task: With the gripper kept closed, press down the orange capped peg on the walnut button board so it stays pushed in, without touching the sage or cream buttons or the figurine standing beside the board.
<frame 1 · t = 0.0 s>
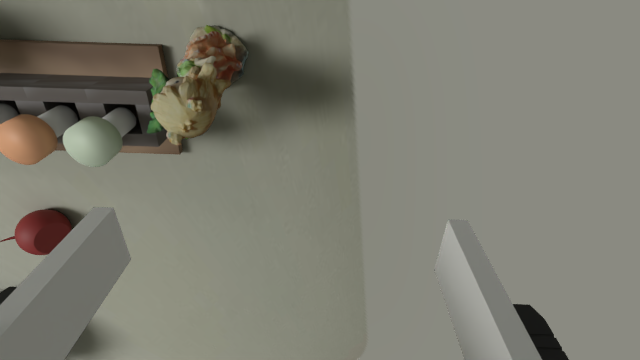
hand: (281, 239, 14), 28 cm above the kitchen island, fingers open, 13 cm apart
figurine: (213, 64, 39), on the kitchen island
fruit: (48, 219, 51), on the kitchen island
button board: (94, 99, 41), on the kitchen island
sage button: (107, 131, 33), point 9 cm above the kitchen island, slide at 4.0 cm
orange capped peg: (43, 129, 33), point 9 cm above the kitchen island, slide at 4.0 cm
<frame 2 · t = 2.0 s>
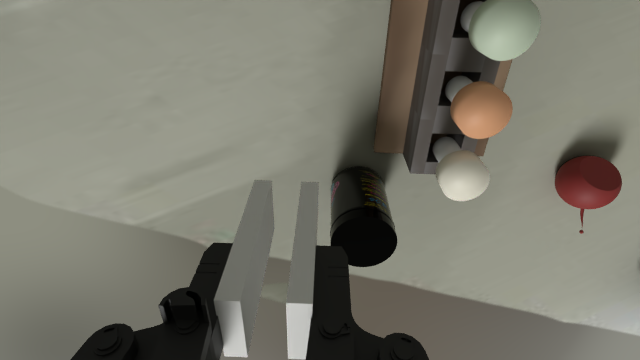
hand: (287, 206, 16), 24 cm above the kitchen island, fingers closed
fruit: (569, 179, 44), on the kitchen island
button board: (442, 73, 37), on the kitchen island
cream button: (454, 163, 33), point 9 cm above the kitchen island, slide at 4.0 cm
sage button: (490, 23, 27), point 9 cm above the kitchen island, slide at 4.0 cm
supplement container: (356, 186, 45), on the kitchen island
orange capped peg: (470, 100, 30), point 9 cm above the kitchen island, slide at 4.0 cm
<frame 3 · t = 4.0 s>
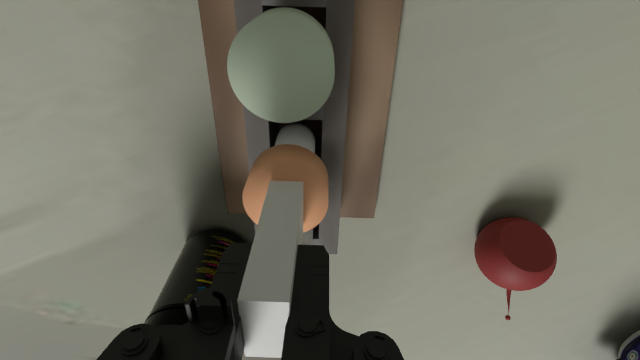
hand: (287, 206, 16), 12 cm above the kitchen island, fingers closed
fruit: (496, 243, 33), on the kitchen island
button board: (301, 111, 26), on the kitchen island
cream button: (292, 251, 22), point 9 cm above the kitchen island, slide at 4.0 cm
sage button: (289, 53, 16), point 9 cm above the kitchen island, slide at 4.0 cm
supplement container: (221, 250, 34), on the kitchen island
orange capped peg: (291, 167, 19), point 8 cm above the kitchen island, slide at 3.8 cm, touching gripper
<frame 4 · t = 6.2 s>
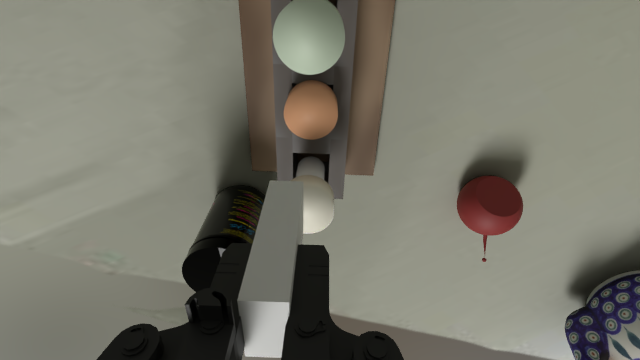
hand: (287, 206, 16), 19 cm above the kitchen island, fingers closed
fruit: (476, 200, 39), on the kitchen island
button board: (314, 83, 33), on the kitchen island
teapot: (624, 295, 47), on the kitchen island
cream button: (309, 188, 29), point 9 cm above the kitchen island, slide at 4.0 cm
sage button: (311, 28, 22), point 9 cm above the kitchen island, slide at 4.0 cm
supplement container: (244, 206, 41), on the kitchen island
orange capped peg: (312, 100, 29), point 5 cm above the kitchen island, slide at 0.0 cm
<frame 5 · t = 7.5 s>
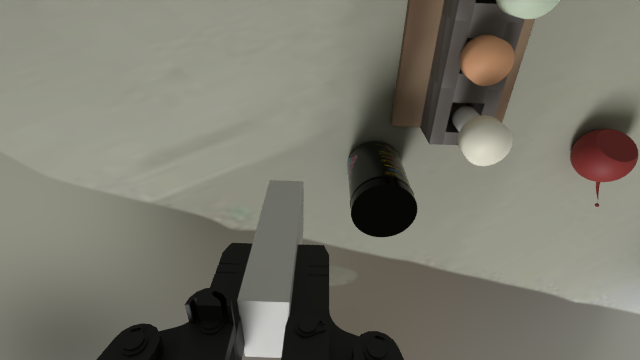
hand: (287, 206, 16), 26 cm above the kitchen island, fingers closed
fruit: (584, 154, 44), on the kitchen island
button board: (461, 44, 37), on the kitchen island
cream button: (475, 130, 33), point 9 cm above the kitchen island, slide at 4.0 cm
supplement container: (373, 161, 45), on the kitchen island
orange capped peg: (476, 54, 33), point 5 cm above the kitchen island, slide at 0.0 cm
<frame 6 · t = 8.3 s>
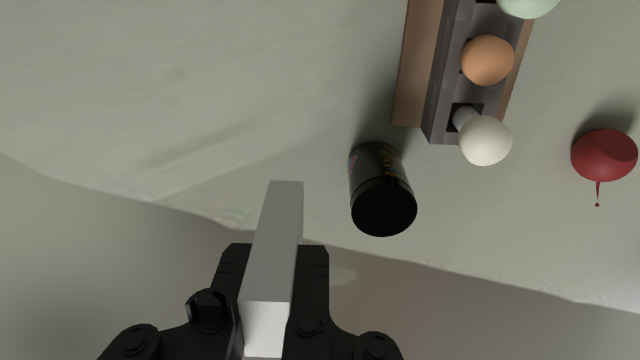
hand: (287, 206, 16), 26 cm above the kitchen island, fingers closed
fruit: (584, 154, 44), on the kitchen island
button board: (461, 44, 37), on the kitchen island
cream button: (475, 130, 33), point 9 cm above the kitchen island, slide at 4.0 cm
supplement container: (373, 161, 45), on the kitchen island
orange capped peg: (476, 54, 33), point 5 cm above the kitchen island, slide at 0.0 cm
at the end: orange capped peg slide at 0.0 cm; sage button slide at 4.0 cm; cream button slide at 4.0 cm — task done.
